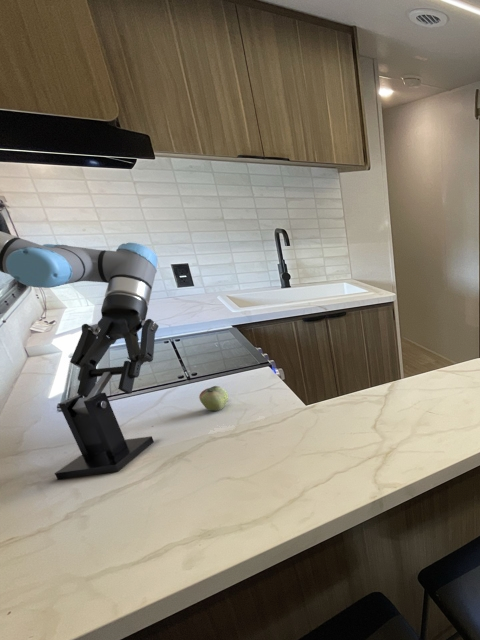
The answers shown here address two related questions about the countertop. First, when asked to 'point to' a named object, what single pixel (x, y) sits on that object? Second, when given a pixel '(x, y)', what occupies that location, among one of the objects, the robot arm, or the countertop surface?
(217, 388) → the apple
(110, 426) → the black lever stand
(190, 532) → the countertop surface
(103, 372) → the lever
